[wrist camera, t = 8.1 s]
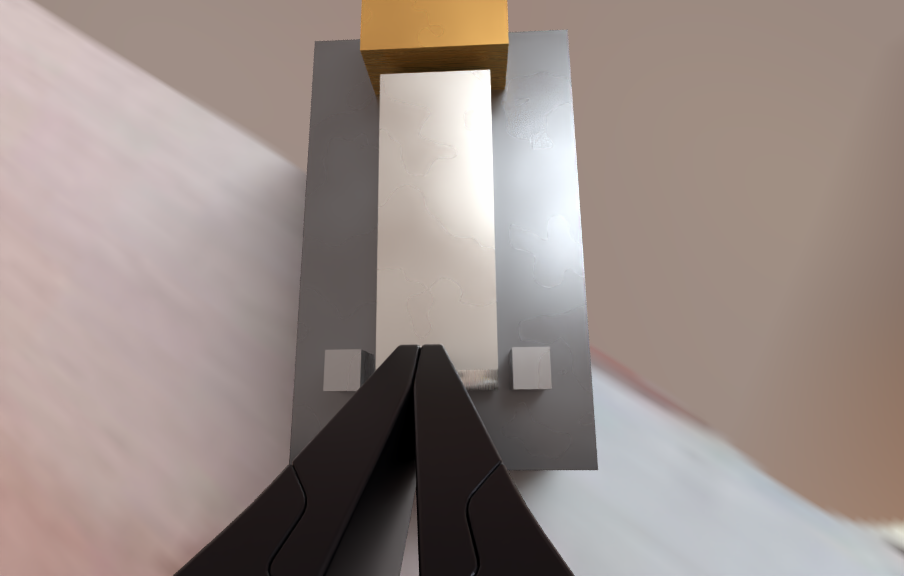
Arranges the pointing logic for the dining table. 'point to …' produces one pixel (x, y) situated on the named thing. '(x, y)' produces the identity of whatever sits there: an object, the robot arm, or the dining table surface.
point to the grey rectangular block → (515, 224)
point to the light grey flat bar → (437, 220)
